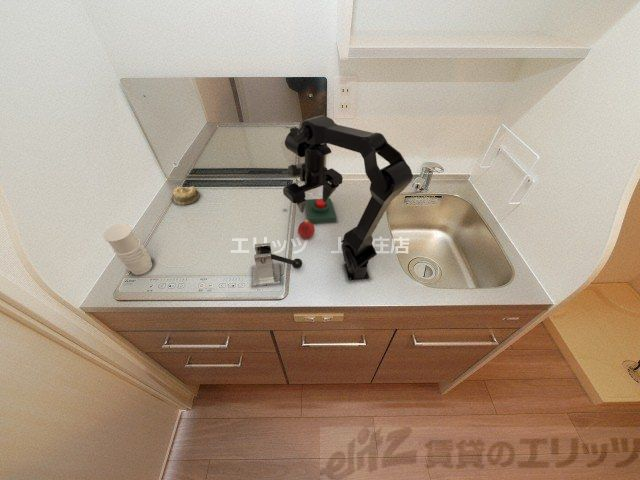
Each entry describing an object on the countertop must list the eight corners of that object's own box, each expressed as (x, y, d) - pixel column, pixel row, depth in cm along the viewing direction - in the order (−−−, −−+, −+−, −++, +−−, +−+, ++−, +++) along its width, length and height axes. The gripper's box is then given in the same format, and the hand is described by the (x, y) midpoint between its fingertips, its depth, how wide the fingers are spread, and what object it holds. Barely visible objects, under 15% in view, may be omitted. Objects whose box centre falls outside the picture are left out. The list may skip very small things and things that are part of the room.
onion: (312, 244, 93) (312, 227, 87) (296, 241, 93) (295, 224, 87) (315, 233, 97) (316, 216, 91) (300, 230, 97) (300, 213, 91)
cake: (199, 204, 106) (195, 194, 102) (172, 207, 104) (167, 197, 100) (200, 188, 112) (196, 177, 108) (175, 191, 110) (170, 180, 106)
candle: (150, 274, 81) (127, 240, 70) (125, 277, 80) (98, 242, 69) (156, 257, 86) (135, 222, 75) (133, 259, 85) (108, 224, 74)
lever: (298, 263, 84) (303, 257, 82) (299, 272, 81) (305, 265, 80) (256, 252, 77) (260, 245, 75) (256, 260, 75) (260, 253, 73)
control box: (335, 221, 101) (336, 213, 98) (309, 223, 100) (309, 215, 97) (330, 202, 110) (330, 194, 107) (305, 203, 108) (305, 195, 105)
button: (326, 208, 101) (326, 204, 100) (316, 208, 101) (316, 204, 99) (324, 202, 104) (324, 198, 102) (315, 202, 103) (315, 199, 102)
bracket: (279, 265, 86) (276, 239, 77) (280, 283, 81) (277, 258, 72) (253, 267, 85) (248, 242, 76) (253, 286, 80) (247, 260, 71)
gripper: (322, 143, 84) (320, 185, 95) (271, 160, 76) (275, 204, 87) (346, 158, 78) (340, 201, 90) (293, 179, 70) (294, 223, 81)
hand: (313, 206), depth 87 cm, fingers open, 9 cm apart
